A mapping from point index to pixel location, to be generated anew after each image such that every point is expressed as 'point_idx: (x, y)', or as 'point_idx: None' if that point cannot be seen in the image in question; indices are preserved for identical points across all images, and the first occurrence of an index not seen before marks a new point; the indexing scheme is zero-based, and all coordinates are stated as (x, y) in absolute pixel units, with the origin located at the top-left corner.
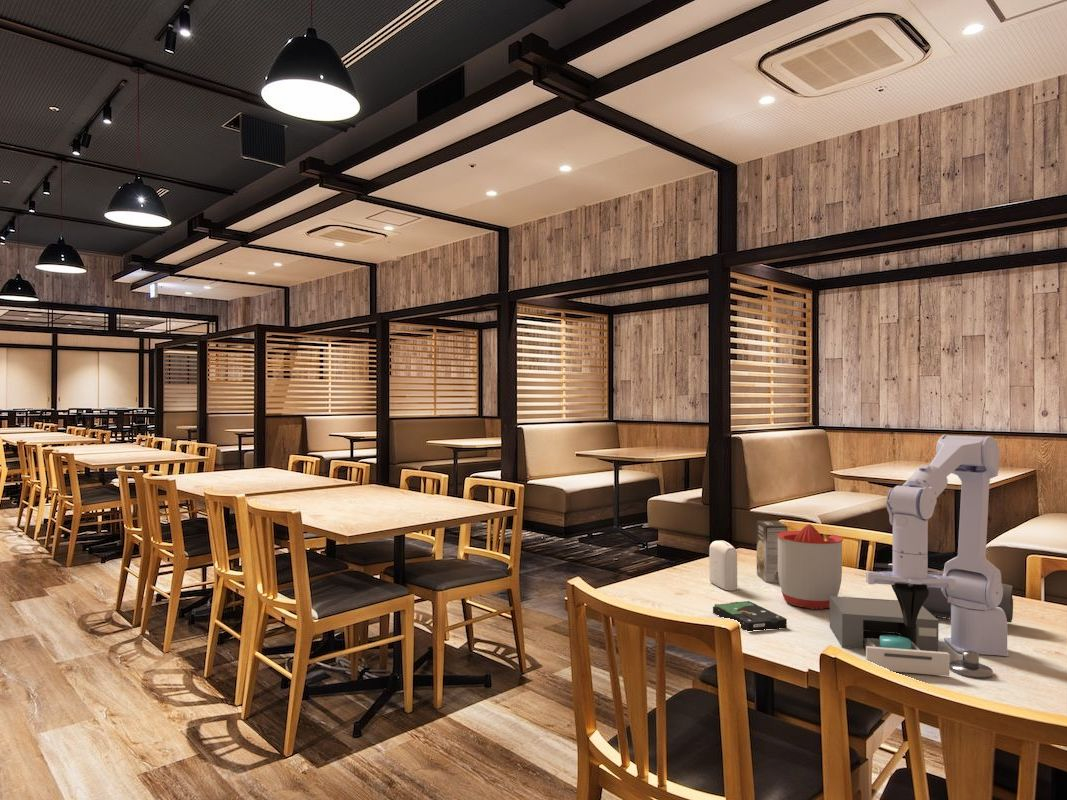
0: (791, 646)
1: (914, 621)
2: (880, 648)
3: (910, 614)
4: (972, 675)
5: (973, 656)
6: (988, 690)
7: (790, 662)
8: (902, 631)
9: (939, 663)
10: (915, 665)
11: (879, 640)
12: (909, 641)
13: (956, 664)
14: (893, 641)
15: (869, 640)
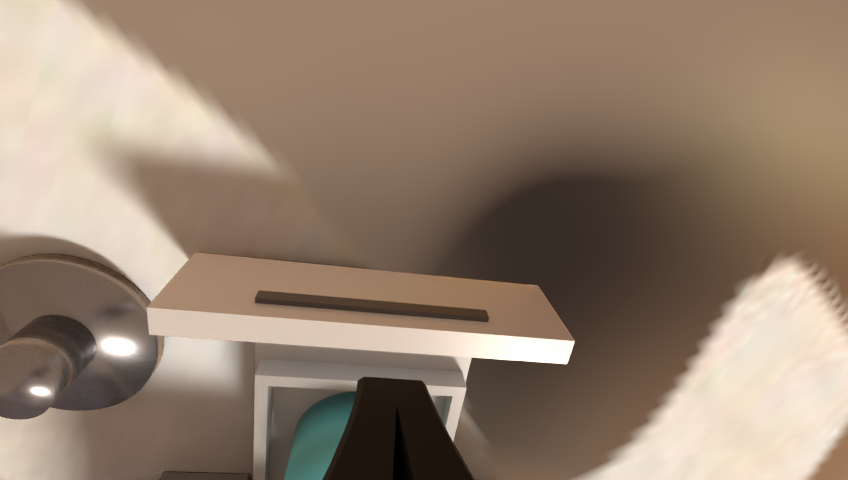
0: (690, 464)
1: (368, 406)
2: (509, 341)
3: (419, 458)
4: (79, 264)
5: (6, 354)
6: (46, 111)
7: (789, 325)
8: None
9: (222, 283)
10: (341, 283)
11: None
12: (294, 472)
13: (120, 363)
14: None
15: None
